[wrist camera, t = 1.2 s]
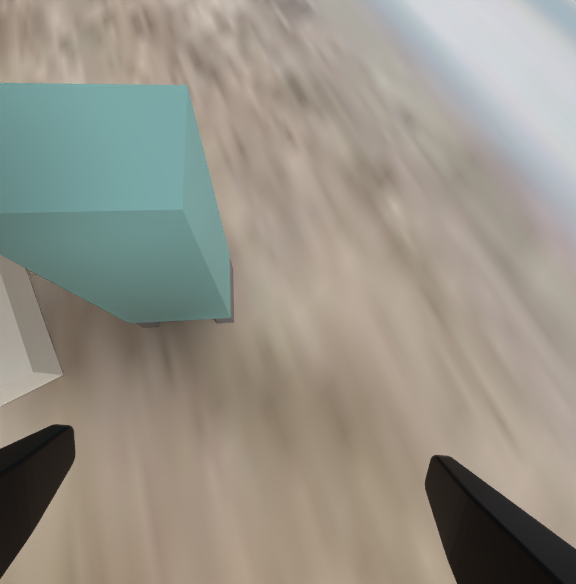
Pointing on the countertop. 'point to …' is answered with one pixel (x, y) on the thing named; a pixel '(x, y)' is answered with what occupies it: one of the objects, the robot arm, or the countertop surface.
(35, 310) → the slotted plate
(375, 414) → the countertop surface
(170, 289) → the teal pillar on feet
